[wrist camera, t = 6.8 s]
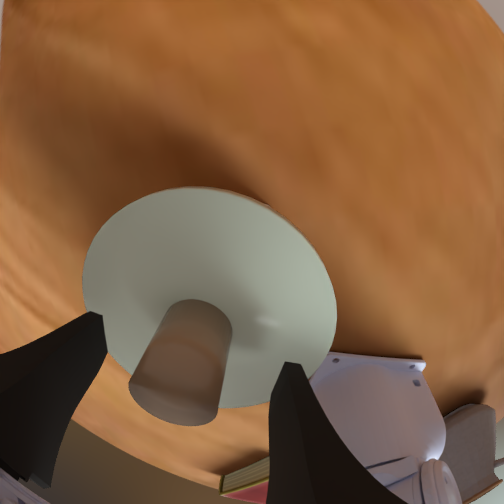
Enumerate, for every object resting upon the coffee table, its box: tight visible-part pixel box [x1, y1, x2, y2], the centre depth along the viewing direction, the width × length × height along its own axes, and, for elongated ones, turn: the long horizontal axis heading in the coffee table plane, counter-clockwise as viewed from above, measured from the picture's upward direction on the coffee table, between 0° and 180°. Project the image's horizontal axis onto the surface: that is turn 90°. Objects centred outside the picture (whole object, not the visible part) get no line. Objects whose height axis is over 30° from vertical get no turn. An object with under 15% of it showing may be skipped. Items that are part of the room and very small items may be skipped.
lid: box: [82, 186, 337, 426], centre depth 10 cm, size 12×12×5 cm
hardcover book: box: [219, 456, 270, 504], centre depth 27 cm, size 12×21×4 cm, turn 57°
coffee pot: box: [438, 404, 504, 504], centre depth 14 cm, size 21×12×15 cm, turn 140°
